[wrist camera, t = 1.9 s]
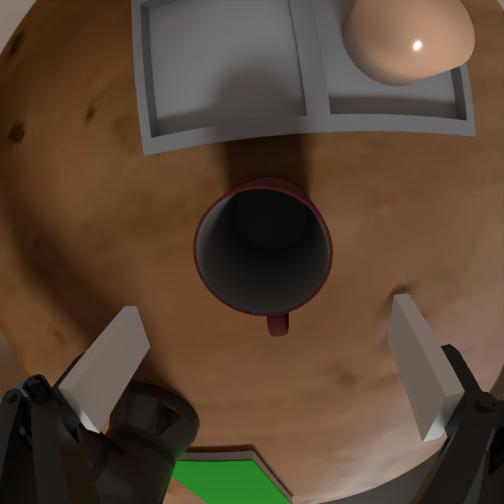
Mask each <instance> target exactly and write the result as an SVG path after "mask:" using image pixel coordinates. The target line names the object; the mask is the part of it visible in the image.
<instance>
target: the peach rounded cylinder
mask: <svg viewBox="0 0 504 504" xmlns="http://www.w3.org/2000/svg"><path fill="white" fill-rule="evenodd" d="M342 37H343V44H344V47H345V50H346V52H347V54H348V56H349V58H350V59H351V61H352V62H353V63H354V65H355V66H356V67H357V68H358V69H359V70H360V71H361V72H362V73H364V74H365V75H366V76H368V77H369V78H371V79H372V80H375V81H377V82H379V83H382V84H385V85H389V86H406V85H410V84H412V83H415V82H417V81H420V80H423V79H425V78H428V77H431V76H433V75H436V74H439V73H442V72H445V71H447V70H450V69H453V68H456V67H458V66H461V65H462V64H464V63H465V62H466V61H467V60H468V59H469V58H470V56H471V54H472V52H473V49H474V44H475V35H474V29H473V25H472V22H471V19H470V17H469V15H468V13H467V11H466V9H465V7H464V6H463V4H462V3H461V2H460V0H356V2H355V4H354V6H353V8H352V10H351V12H350V14H349V16H348V18H347V20H346V22H345V24H344V27H343V35H342Z"/></svg>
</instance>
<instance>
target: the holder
mask: <svg viewBox="0 0 504 504" xmlns="http://www.w3.org/2000/svg"><path fill="white" fill-rule="evenodd" d="M355 2H356V0H131V6H132V41H133V59H134V73H135V85H136V95H137V105H138V114H139V122H140V130H141V138H142V145H143V152H144V156H146V155H152V154H157V153H162V152H167V151H173V150H178V149H183V148H189V147H195V146H201V145H207V144H213V143H220V142H227V141H235V140H243V139H251V138H260V137H269V136H280V135H292V134H306V133H324V132H355V131H389V132H419V133H436V134H449V135H460V136H473V137H476V134H475V120H474V110H473V101H472V93H471V86H470V80H469V74H468V69H467V63H466V62H465V63H464V64H462V65H461V66H458V67H456V68H453V69H450V70H447V71H445V72H442V73H439V74H436V75H433V76H431V77H428V78H425V79H423V80H420V81H417V82H415V83H412V84H410V85H406V86H389V85H385V84H382V83H379V82H377V81H375V80H372V79H371V78H369V77H368V76H366V75H365V74H364V73H362V72H361V71H360V70H359V69H358V68H357V67H356V66H355V65H354V63H353V62H352V61H351V59H350V58H349V56H348V54H347V52H346V50H345V47H344V44H343V37H342V35H343V27H344V24H345V22H346V20H347V18H348V16H349V14H350V12H351V10H352V8H353V6H354V4H355Z"/></svg>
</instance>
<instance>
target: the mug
mask: <svg viewBox="0 0 504 504" xmlns="http://www.w3.org/2000/svg"><path fill="white" fill-rule="evenodd" d="M193 253H194V261H195V265H196V268H197V271H198V274H199V276H200V278H201V280H202V281H203V283H204V285H205V286H206V287H207V289H208V290H209V291H210V292H211V293H212V294H213V295H214V296H215V297H216V298H217V299H218V300H220V301H221V302H222V303H224V304H225V305H227V306H229V307H230V308H232V309H234V310H237V311H240V312H242V313H245V314H250V315H256V316H267V323H268V329H269V332H270V334H271V336H275V337H276V336H284V335H286V334H287V333H288V328H289V312H291V311H293V310H295V309H298V308H300V307H301V306H303V305H304V304H306V303H307V302H309V301H310V300H311V299H312V298H313V297H314V296H315V295H316V294H317V293H318V292H319V291H320V289H321V288H322V287H323V285H324V283H325V282H326V280H327V277H328V275H329V272H330V269H331V265H332V257H333V248H332V241H331V237H330V233H329V230H328V228H327V225H326V223H325V221H324V219H323V217H322V216H321V214H320V212H319V211H318V209H317V208H316V206H315V205H314V204H313V203H312V201H311V200H310V199H309V198H308V197H307V196H306V195H305V193H304V192H303V191H302V190H301V189H300V188H299V187H297V186H296V185H295V184H294V183H292V182H291V181H289V180H287V179H284V178H281V177H276V176H266V177H260V178H257V179H254V180H252V181H249V182H247V183H244V184H242V185H240V186H238V187H236V188H234V189H232V190H231V191H229V192H228V193H226V194H225V195H223V196H222V197H221V198H219V199H218V200H217V201H216V202H215V203H214V204H213V205H212V206H211V207H210V208H209V209H208V210H207V211H206V213H205V214H204V215H203V217H202V219H201V220H200V222H199V225H198V227H197V230H196V233H195V237H194V244H193Z"/></svg>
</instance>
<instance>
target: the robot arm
mask: <svg viewBox="0 0 504 504" xmlns="http://www.w3.org/2000/svg"><path fill="white" fill-rule="evenodd" d="M387 341H388V343H389V346H390V348H391V351H392V353H393V356H394V359H395V361H396V364H397V366H398V369H399V372H400V375H401V377H402V380H403V383H404V386H405V389H406V392H407V394H408V397H409V400H410V403H411V406H412V409H413V413H414V416H415V419H416V422H417V425H418V428H419V432H420V435H421V439H422V442H426V441H430V440H434V439H437V438H440V437H441V435H442V433H443V432H444V430H445V431H446V434H447V436H448V437H447V439H446V440H445V442H444V443H443V445H442V446H441V448H440V449H439V451H440V452H439V454H438V456H437V458H436V460H435V462H434V464H433V465H432V467H431V469H430V471H429V473H428V474H427V476H426V478H425V480H424V481H423V483H422V484H421V486H420V488H419V489H418V491H417V493H416V494H415V496H414V497H413V499H412V500H411V502H410V503H409V504H463V502H464V500H465V498H466V496H467V494H468V492H469V490H470V488H471V486H472V483H473V481H474V479H475V476H476V474H477V472H478V469H479V467H480V464H481V461H482V459H483V456H484V453H485V451H486V457H485V464H484V471H483V478H482V484H481V489H480V494H479V499H478V504H504V401H498V400H497V399H496V398H495V397H494V396H493V395H492V394H490V393H488V392H482V390H481V389H480V387H479V385H478V383H477V381H476V380H475V378H474V376H473V374H472V373H471V371H470V369H469V367H467V364H466V362H465V361H464V360H463V357H462V356H461V354H460V352H459V351H458V350H457V349H456V348H454V347H453V346H452V345H450V344H448V345H443V346H440V345H439V343H438V341H437V340H436V338H435V336H434V334H433V333H432V331H431V329H430V328H429V326H428V324H427V323H426V321H425V320H424V318H423V316H422V315H421V313H420V312H419V310H418V308H417V307H416V305H415V304H414V302H413V301H412V299H411V297H410V296H409V294H399V295H394V298H393V306H392V314H391V321H390V327H389V333H388V339H387ZM149 348H150V344H149V341H148V338H147V336H146V333H145V330H144V327H143V324H142V321H141V318H140V315H139V312H138V309H137V306H124V308H123V309H122V310H121V311H120V312H119V313H118V315H117V316H116V317H115V318H114V319H113V320H112V321H111V323H110V324H109V325H108V326H107V327H106V328H105V330H104V331H103V332H102V333H101V334H100V336H99V337H98V338H97V339H96V340H95V342H94V343H93V344H92V345H91V346H90V348H89V349H88V350H87V351H86V352H83V353H82V354H81V355H79V356H78V357H76V359H75V360H74V361H73V362H72V363H71V366H69V367H68V368H67V371H65V372H64V373H63V374H62V376H61V377H60V378H59V379H58V381H57V382H56V383H55V384H54V386H53V387H52V388H51V386H50V385H49V383H48V382H47V380H46V378H45V377H44V376H43V375H40V374H37V375H33V376H30V377H28V378H26V379H24V380H23V381H22V382H21V383H19V384H18V385H17V386H16V387H15V388H13V389H11V390H9V391H7V392H6V394H5V395H4V396H3V398H2V399H1V400H0V504H163V501H164V498H165V495H166V492H167V489H168V486H169V483H170V480H171V477H172V474H173V470H174V467H175V465H176V462H177V460H178V459H179V458H180V457H181V455H182V454H183V453H184V452H185V451H186V450H187V448H188V447H189V446H190V445H191V443H192V442H193V441H194V440H195V438H196V436H197V433H198V429H199V419H198V417H197V415H196V414H195V412H194V411H193V410H192V409H191V408H190V407H189V406H188V405H187V404H186V403H185V402H184V401H182V400H181V399H179V398H178V397H176V396H175V395H173V394H171V393H169V392H167V391H165V390H163V389H160V388H158V387H155V386H152V385H148V384H142V383H129V381H130V379H131V378H132V376H133V374H134V373H135V371H136V369H137V368H138V366H139V364H140V363H141V361H142V359H143V358H144V356H145V355H146V353H147V351H148V350H149ZM128 383H129V384H128ZM110 413H111V414H110ZM109 415H110V421H109V428H108V431H107V432H106V434H105V435H104V434H103V433H102V432H101V429H102V427H103V426H104V424H105V422H106V420H107V419H108V417H109Z"/></svg>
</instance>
